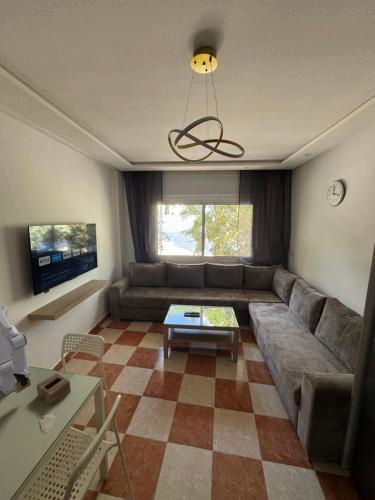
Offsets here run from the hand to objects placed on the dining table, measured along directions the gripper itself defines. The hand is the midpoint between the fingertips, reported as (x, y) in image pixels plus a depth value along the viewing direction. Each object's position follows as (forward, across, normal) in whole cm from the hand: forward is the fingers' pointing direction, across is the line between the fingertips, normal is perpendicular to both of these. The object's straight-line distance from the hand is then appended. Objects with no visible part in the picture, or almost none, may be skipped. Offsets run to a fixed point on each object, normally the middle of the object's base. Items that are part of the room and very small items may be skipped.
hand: (22, 384), depth 111 cm
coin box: (+9, +9, +10) cm, 16 cm away
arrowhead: (+9, +23, -1) cm, 25 cm away
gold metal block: (+2, 0, 0) cm, 2 cm away
